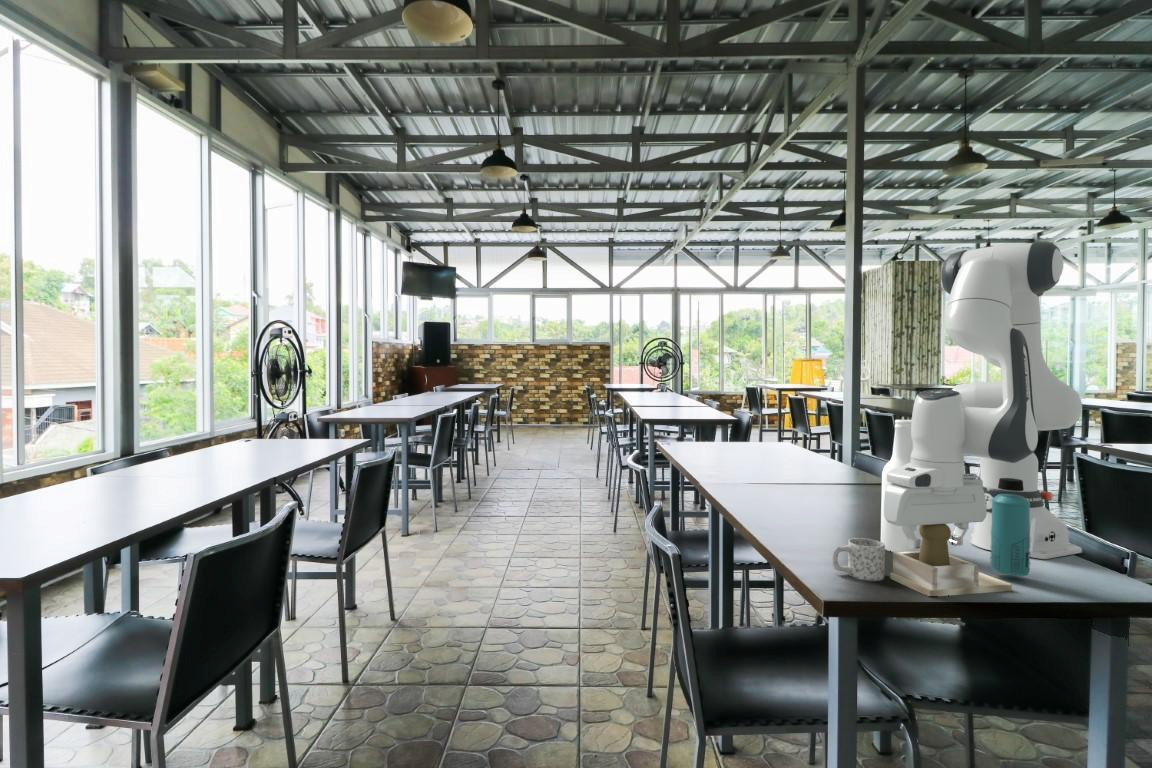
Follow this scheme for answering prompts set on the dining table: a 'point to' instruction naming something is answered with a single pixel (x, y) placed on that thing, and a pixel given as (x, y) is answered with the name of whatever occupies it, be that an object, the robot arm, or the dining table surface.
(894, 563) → the open box
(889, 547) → the alcohol
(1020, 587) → the dining table surface
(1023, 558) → the beverage bottle
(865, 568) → the mug
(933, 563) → the cork
